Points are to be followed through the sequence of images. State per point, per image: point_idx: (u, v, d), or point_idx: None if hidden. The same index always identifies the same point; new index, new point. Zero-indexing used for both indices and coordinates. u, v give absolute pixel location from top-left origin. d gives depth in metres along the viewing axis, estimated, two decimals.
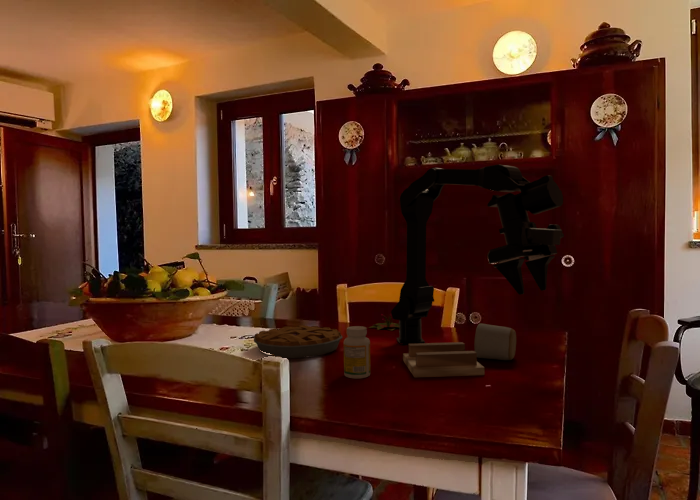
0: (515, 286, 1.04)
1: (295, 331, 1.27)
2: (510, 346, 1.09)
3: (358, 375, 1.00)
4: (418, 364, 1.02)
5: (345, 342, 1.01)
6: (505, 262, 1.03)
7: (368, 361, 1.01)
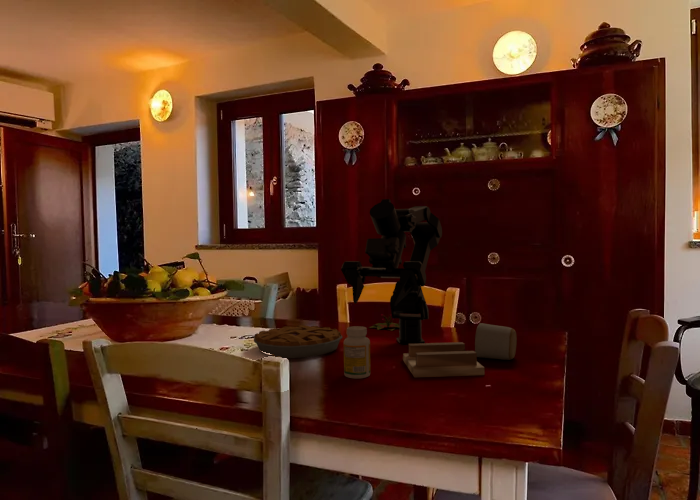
0: None
1: (295, 331, 1.27)
2: (510, 346, 1.10)
3: (358, 375, 1.00)
4: (418, 364, 1.02)
5: (345, 342, 1.01)
6: None
7: (368, 361, 1.01)
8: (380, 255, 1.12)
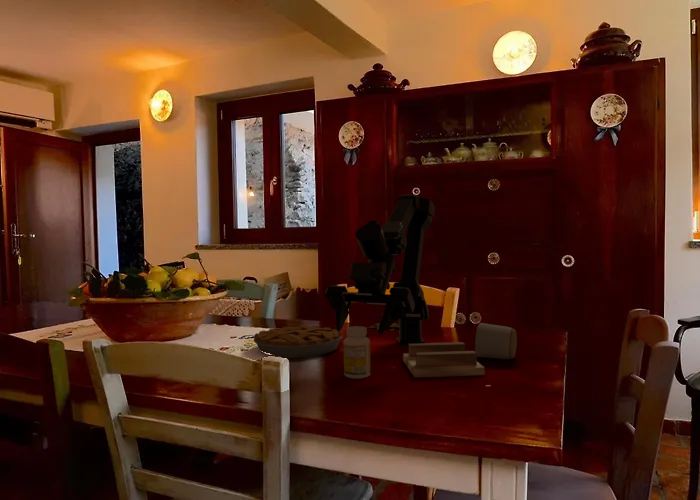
0: None
1: (295, 331, 1.27)
2: (511, 345, 1.10)
3: (358, 375, 1.00)
4: (418, 364, 1.02)
5: (345, 342, 1.01)
6: None
7: (368, 361, 1.01)
8: (365, 280, 1.06)
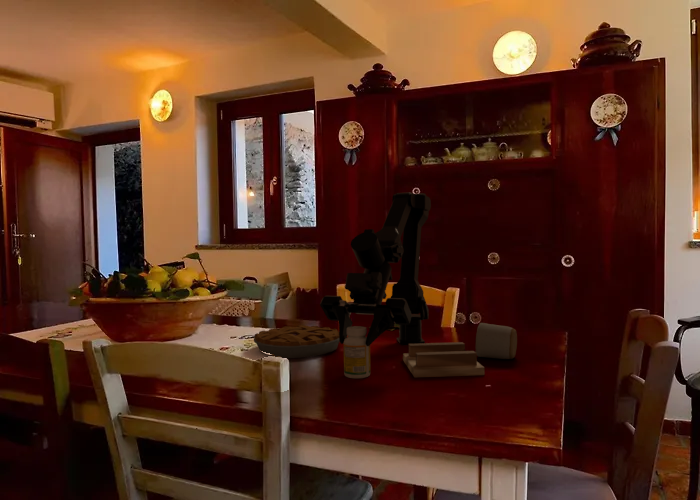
0: None
1: (295, 331, 1.27)
2: (511, 345, 1.10)
3: (358, 375, 1.00)
4: (418, 364, 1.02)
5: (345, 342, 1.01)
6: None
7: (368, 361, 1.01)
8: (361, 290, 1.04)
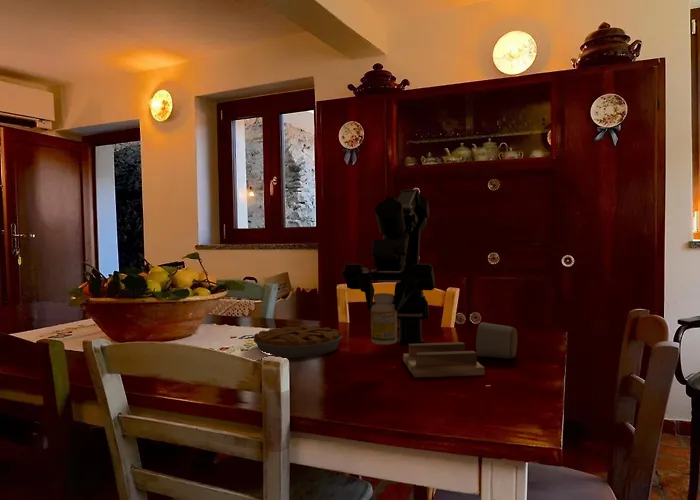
0: None
1: (295, 331, 1.27)
2: (511, 345, 1.11)
3: (387, 341, 1.00)
4: (418, 364, 1.02)
5: (373, 308, 1.01)
6: None
7: (396, 327, 1.02)
8: (387, 257, 1.04)
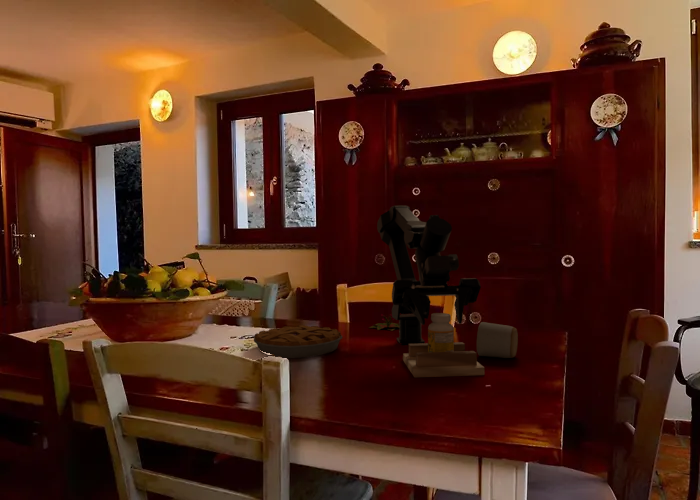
0: (418, 318, 1.07)
1: (295, 331, 1.27)
2: (512, 344, 1.11)
3: None
4: (418, 364, 1.02)
5: (435, 329, 1.05)
6: (403, 296, 1.10)
7: None
8: (439, 272, 1.09)
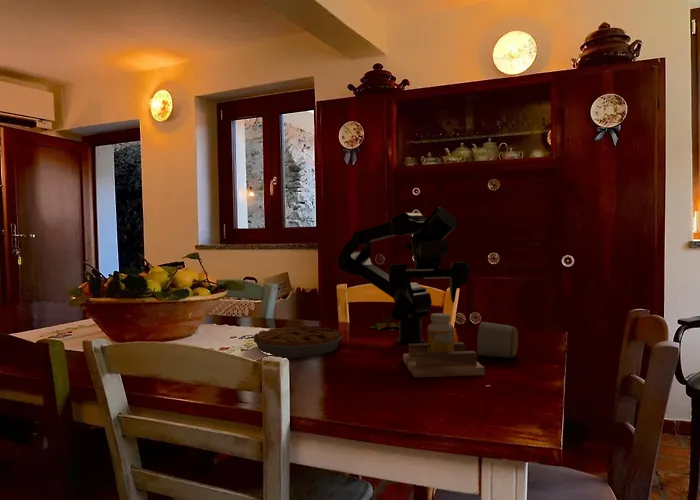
0: (409, 298, 1.18)
1: (295, 331, 1.27)
2: (512, 344, 1.11)
3: None
4: (418, 364, 1.02)
5: (435, 329, 1.05)
6: (395, 279, 1.21)
7: None
8: (431, 256, 1.19)
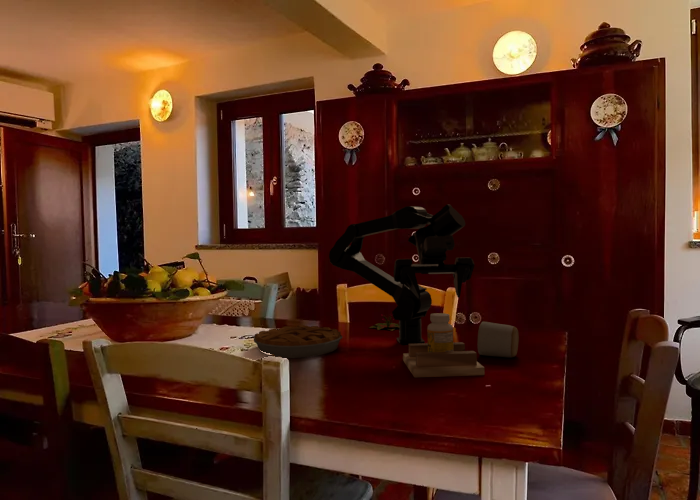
0: (415, 293, 1.18)
1: (295, 331, 1.27)
2: (512, 344, 1.12)
3: None
4: (418, 364, 1.02)
5: (435, 329, 1.05)
6: (401, 274, 1.21)
7: None
8: (437, 252, 1.20)
